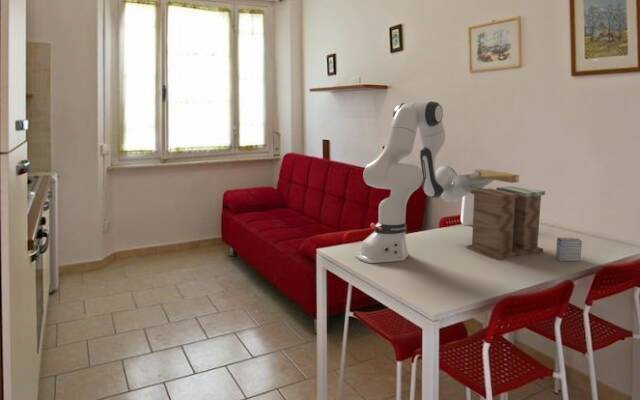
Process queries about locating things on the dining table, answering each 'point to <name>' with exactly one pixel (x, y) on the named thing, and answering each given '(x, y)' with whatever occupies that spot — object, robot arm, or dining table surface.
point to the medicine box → (568, 249)
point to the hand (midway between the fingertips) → (484, 172)
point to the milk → (467, 209)
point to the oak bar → (498, 176)
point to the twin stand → (506, 222)
